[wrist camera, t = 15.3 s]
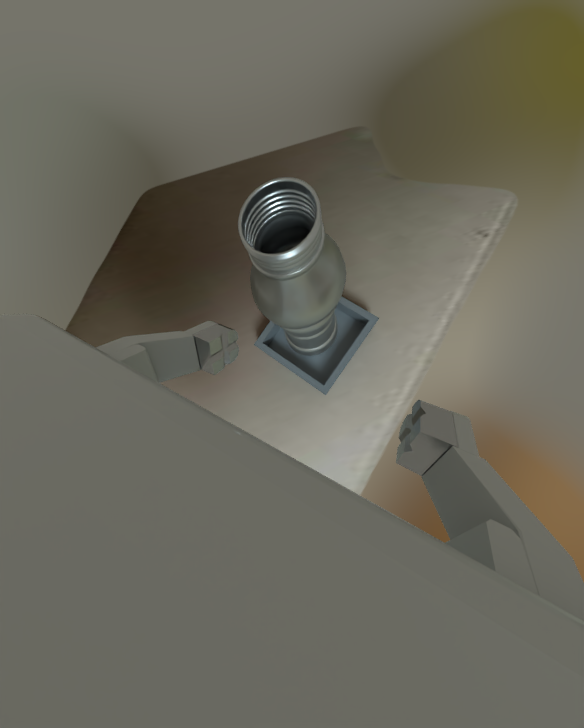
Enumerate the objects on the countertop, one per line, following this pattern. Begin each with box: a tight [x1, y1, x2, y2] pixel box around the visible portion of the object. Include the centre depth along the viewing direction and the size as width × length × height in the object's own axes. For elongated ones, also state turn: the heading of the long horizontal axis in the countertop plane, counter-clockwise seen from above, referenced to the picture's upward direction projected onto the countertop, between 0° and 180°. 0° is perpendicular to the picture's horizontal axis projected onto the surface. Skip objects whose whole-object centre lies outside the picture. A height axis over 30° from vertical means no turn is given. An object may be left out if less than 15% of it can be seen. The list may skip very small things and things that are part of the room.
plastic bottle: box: [238, 177, 346, 356], centre depth 19 cm, size 6×7×20 cm
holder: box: [254, 296, 379, 395], centre depth 27 cm, size 11×11×3 cm
